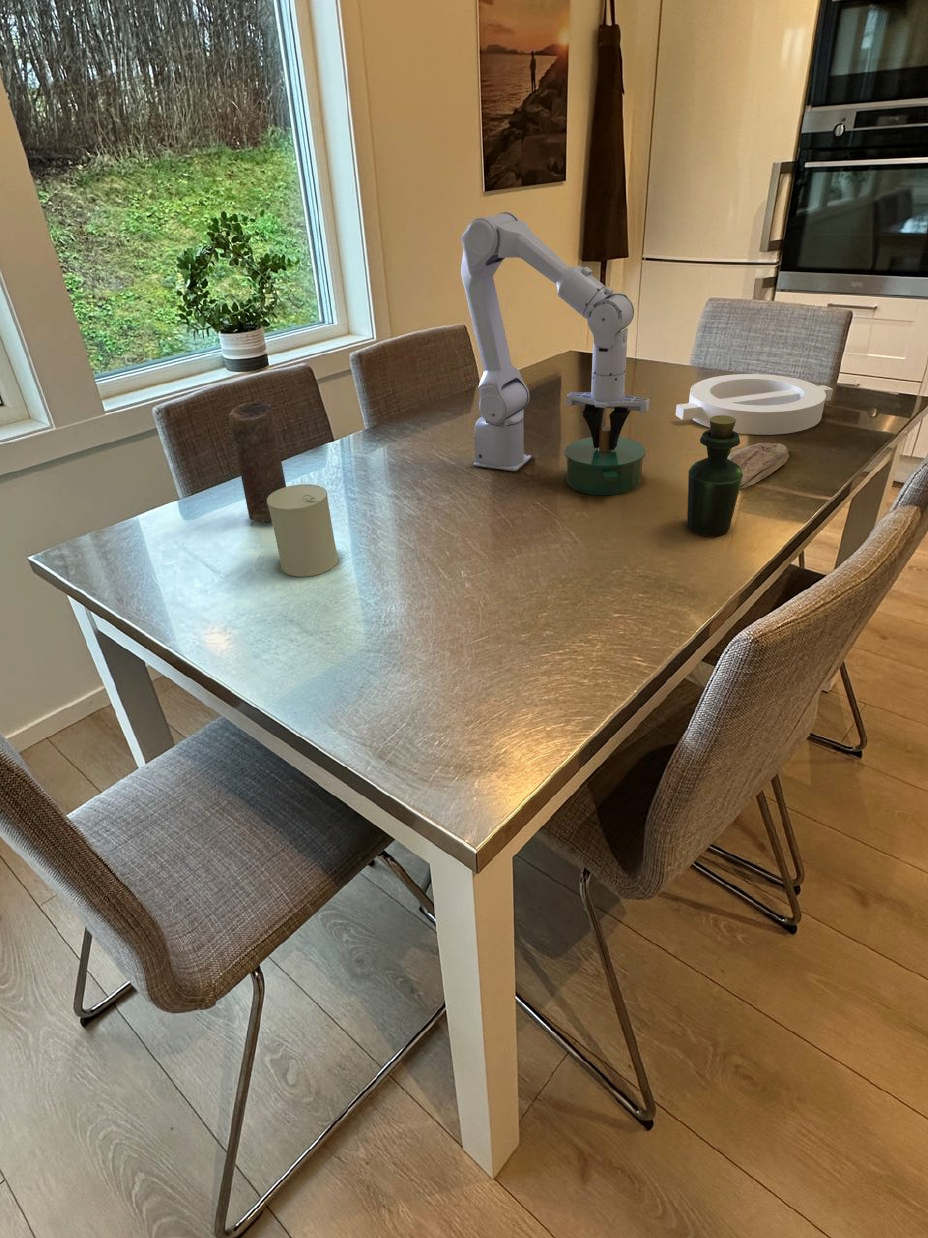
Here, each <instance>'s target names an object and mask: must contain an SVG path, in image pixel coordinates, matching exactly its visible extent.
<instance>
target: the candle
mask: <svg viewBox="0 0 928 1238" xmlns="http://www.w3.org/2000/svg"><path fill="white" fill-rule="evenodd" d="M228 419H229V424H230V429H231V434H232V439H233V443H234V449H235V453H236V459H237V463H238V468H239V473H240V478H241V483H242V488H243V493H244V499H245V504H246V509H247V513H248V518H249V520H250V521H252V522H253V521H254V522H257V521H258V522H263V523H267V524H268V523H269V524H271V523H272V520H271V516H270V511H269V507H268V504H267V498H268V496H269V495H270V494H272V493H273V492H275V491H277V490H279V489H281V488H284V487H287V483H286V478H285V473H284V467H283V463H282V458H281V451H280V447H279V442H278V435H277V430H276V424H275V418H274V414H273V407H272V406H271V404H269V403H266V402H262V401H255V402H253V401H251V402H244V403H242V404H239V405H238V406H236V407H234V408H232V410H231V411H230V412H229V413H228Z"/></svg>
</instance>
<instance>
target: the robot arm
mask: <svg viewBox="0 0 928 1238" xmlns="http://www.w3.org/2000/svg"><path fill="white" fill-rule="evenodd" d="M460 240H461V245H462V249H463V251H462V257H461V258H462V259H461V267H460V275H461V279H462V284H463V289H464V293H465V298H466V301H467V306H468V310H469V315H470V319H471V322H472V328H473V331H474V336H475V340H476V345H477V349H478V353H479V358H480V362H481V366H482V371H483V374H482V376H481V379H480V381H479V384H478V392H479V393H478V394H479V400H478V410H479V413H480V415H481V416H480V417H479V418H478V419H477V420H476V422H475V424H474V429H473V446H474V449H473V450H474V462H473V466H474V467H480V468H488V469H495V470H502V471H508V472H517V471H518V470H520V469H521V468H522V467H523V466H524V465H525V464H526V463H528V462H529V461H530V460H531V459H532V455H531V454H525V444H524V443H525V441H524V440H525V437H524V434H525V433H524V431H525V430H524V415H525V413H524V412H525V411H524V410H525V409H526V408H527V406H528V404H529V403H530V397H531V396H530V391H529V388H528V386H527V385H526V383H525V382H524V380H523V377H522V374H521V371H520V370H519V369H518V368H517V367H515V366H514V364H513V363H512V359H511V353H510V350H509V349H510V348H509V345H508V339H507V336H506V335H507V334H506V331H505V330H506V329H505V325H504V321H503V315H502V313H501V308H500V307H501V306H500V303H499V298H498V297H499V296H498V293H497V289H496V283H495V280H494V279H495V278H494V275H495V274H496V272H497V271H498V269H499V268H500V265H501V264H502V263H503V261H504V260H505V259H506V258H510V259H511V258H517V259H518V258H519V259H521V260H522V261H524V262H525V263H527V265H529V266H530V267H532V268H533V269H535V270H536V271H538V272H539V273H540V274H542V275H543V277H545V278H547V279H548V280H550V281H551V282H552V283H553V284H555V285H556V291H557V296H558V297H559V298H560V299H562V300H563V301H564V302H565V303H566V304H567V305H569V307H571V308H572V309H573V310H575V311H576V312H577V313H578V314H579V315H581V316H582V317H583V318H584V319H585V320H587V321H586V322H587V327H588V328H589V330H590V332H591V334H592V336H593V337H592V358H591V360H592V361H591V362H592V363H591V365H592V366H591V389H590V391H589V392H587V391H586V392H585V391H583V392H582V391H581V392H579V391H577V392H576V391H575V392H574V391H570V392H569V393H567V395H566V406H568V407H573V406H579V407H584V409H583V410H582V417H583V418H584V420H585V422H586V424H587V427H588V429H589V432H590V435H591V437H592V440H593V446H594V448H598V441H599V428H601V427H603V425H602V424H603V418H604V411H605V409H611V410H612V409H613V410H612V411H611V412H610V413H609V415H608V417H609V425H610V426H609V427H610V430H611V433H610V444H609V447H610V450H614V449H615V448H616V447H617V442H618V438H619V437H620V435H621V432H622V430H623V427H624V425H625V422H626V420H627V418H628V417H629V415H630V413H631V412H632V411H633V412H639V413H640V414H646V413H648V411H649V410H650V400H651V399H650V398H646V397H645V398H643V397H639V396H634V395H629V394H625V385H626V371H627V369H626V368H627V355H628V353H627V352H628V334H629V332H628V331H629V328H628V326H630V325H631V323H632V321H633V320H634V317H635V308H634V307H635V306H634V304H633V302H632V301H631V299H630V298H629V297H628V295H627V294H625V293H622V292H615V293H614V288H612V287H611V286H605V285H604V283H602V282H601V281H599V280H598V279H597V278H596V277H594V275H592V273H593V270H592V269H591V268H590V267H589V266H585V267H583V266H581V265H574V266H569V265H568V264H567V263H566V261H564V260H563V259H562V258H561V257H560V256H559V255H557V254H556V253H555V252H554V251H553V250H552V249H551V248H550V247H549V246H548V245H547V244H546V243H544V241H542V240H541V239H540V238H539V237H538V236H537V235H536V234H535V233H534V232H533V231H532V230H531V228H530V226H529V225H528V223H527V222H525V221H523V220H521V219H519V218H518V217H517V215H516V214H514V213H512V212H510V211H502V212H499V213H497V214H493V215H490V216H485V217H483V216H482V217H476V218H474V219H472V220H471V221H470V222H469V223H468V225H467V226H466V228H465V230H464V231H463V233H462V235H461V237H460Z"/></svg>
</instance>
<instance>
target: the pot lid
mask: <svg viewBox="0 0 928 1238" xmlns="http://www.w3.org/2000/svg"><path fill="white" fill-rule="evenodd" d="M610 433H611V430H610V426H602V427H601V428H599V441H598V448H594V446H593V440H592V436H591V437H590V436H589V437H585V438H579V439H577V440H574V441H572V442H570V443H569V444H567V445H566V446H565V448H564V456H565V457H566V459H567V458H568V459H569V460H570V461H572V462H574V463H577V464H580V465H584V466H589V467H598V468H612V467H621V466H627V465H630V464H634V463H636V462H638V461H640V460H641V459H644V458H645V456H646V451H647V450H646V448H645V446H644V445H643V444H641V442H638V441H635V440H633V439H630V438H626V437H620V436H619V438H618V442H617V447H616V448H615V449H614V450H610V447H609V444H610Z"/></svg>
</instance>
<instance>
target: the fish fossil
mask: <svg viewBox="0 0 928 1238" xmlns="http://www.w3.org/2000/svg"><path fill="white" fill-rule="evenodd" d="M789 458H790V454H789V449H788V447H787V446H786V445H784V444H783V443H771V442H758V443H755V444H751V445H747V446H744V447H742V448H736V449H735V450H733V451H732V452H730V453H729V456H728V458H727V459H729V460H731V461H732V462H734V463H736V464H737V465H738V466H740V469H741V471H742V474H743V478H742V482H741V485H740V489H739V490H741V489H746V488H748V487H750V486H753V485H755V484H757V483H758V482H760V481H762V480H765V479H766V478H767V477H768V476H770V475H772V474H773V473H774V472H775V471H777V470H778V469H780V468H781V467H782V466H784V465H785V464H786V463H787V462H788V459H789Z"/></svg>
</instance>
